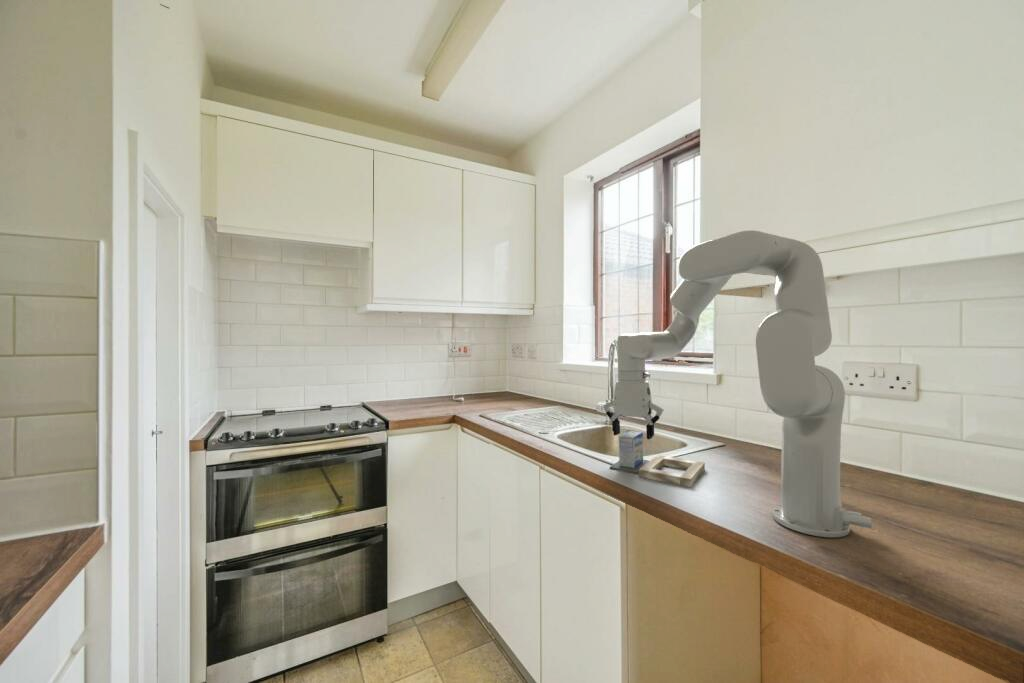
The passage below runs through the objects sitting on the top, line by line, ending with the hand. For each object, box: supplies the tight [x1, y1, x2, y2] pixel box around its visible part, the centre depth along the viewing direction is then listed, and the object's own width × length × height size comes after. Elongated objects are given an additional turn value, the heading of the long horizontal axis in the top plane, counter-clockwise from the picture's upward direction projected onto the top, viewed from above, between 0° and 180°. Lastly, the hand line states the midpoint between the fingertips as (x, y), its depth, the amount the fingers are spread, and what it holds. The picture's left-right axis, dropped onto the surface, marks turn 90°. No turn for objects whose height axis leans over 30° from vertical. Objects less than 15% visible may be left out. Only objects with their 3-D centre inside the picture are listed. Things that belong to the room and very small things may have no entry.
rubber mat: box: [609, 459, 650, 475], centre depth 120 cm, size 8×12×1 cm, turn 144°
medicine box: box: [618, 430, 644, 468], centre depth 120 cm, size 8×4×9 cm, turn 144°
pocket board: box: [638, 454, 706, 488], centre depth 113 cm, size 13×16×2 cm
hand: (632, 436), depth 119 cm, fingers open, 9 cm apart
